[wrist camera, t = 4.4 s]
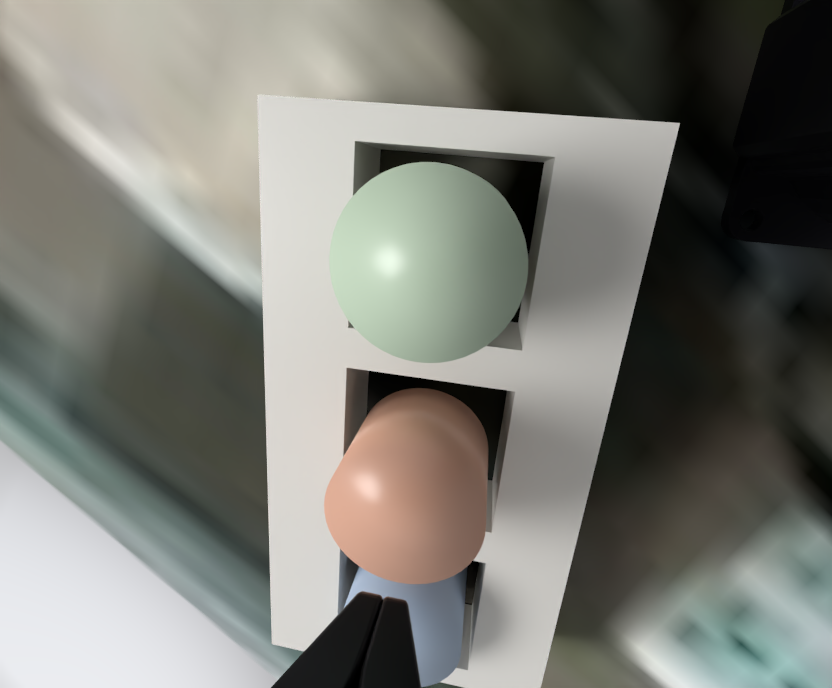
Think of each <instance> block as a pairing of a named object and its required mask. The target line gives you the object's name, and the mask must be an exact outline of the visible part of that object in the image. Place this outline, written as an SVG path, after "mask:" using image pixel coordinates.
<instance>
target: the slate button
mask: <svg viewBox="0 0 832 688" xmlns="http://www.w3.org/2000/svg"><path fill="white" fill-rule="evenodd" d="M467 568H468V567H466V568H465V569H463V570H462V571H461V572H459V573H457V574H456V575H454V576H452V577H450V578H447V579H445V580H442V581H438V582H434V583H428V584H405V583H398V582H394V581H390V580H386V579H383V578H381V577H378V576H376V575H374V574H372V573H370V572H368V571H366V570H364V569H363V568H361V567H360V566H359V567H358V570H357V573H356V576H355V578H354V581H353V584H352V587H351V589H350V592H349V595H348V598H347V600H346V603H345V606H346V605H347V604H348V603H349V602H350V601H351V600H352V599H353V598H354V597H355V595H356V594H357V593H359V592H361V591H365V592H370V593H374V594H379V595H381V596H382V597H383V599H384V598H385V597H387V596H389V597H394V598H398V599H403V600H406V601H407V603H408V606H409V612H410V619H411V625H412V631H413V638H414V644H415V650H416V657H417V663H418V669H419V676H420V682H421V687H425V686H429V685H433V684H436V683H438V682H440V681H442V680H444V679H445V678H447V677H448V676H449V675H450V674H451V673H452V672H453V671H454V670H455V668H456V667H457V665H458V663H459V660H460V656H461V646H462V633H463V620H464V607H465V594H466V581H467ZM345 606H344V607H345Z"/></svg>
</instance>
